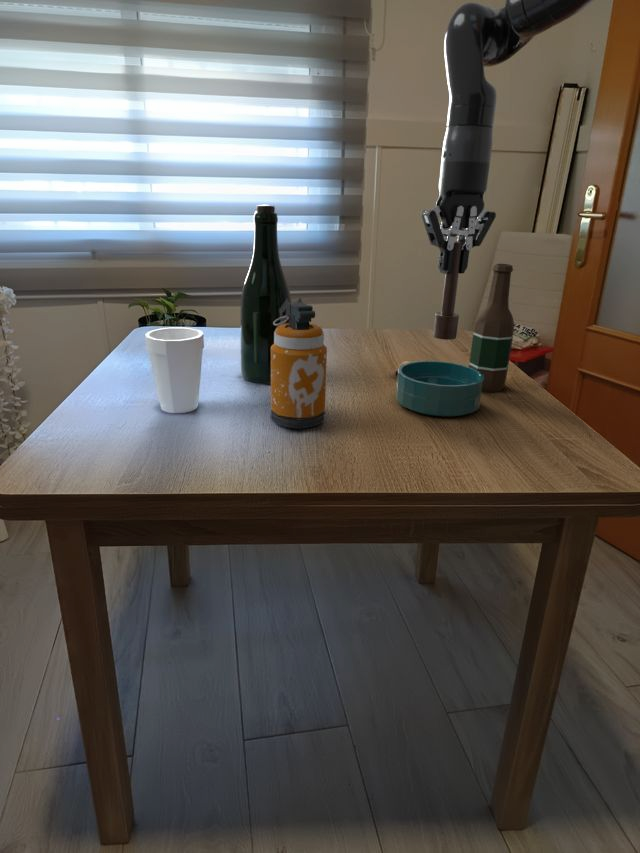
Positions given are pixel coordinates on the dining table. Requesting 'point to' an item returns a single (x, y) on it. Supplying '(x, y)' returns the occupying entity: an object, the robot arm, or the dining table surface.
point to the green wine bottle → (262, 298)
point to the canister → (298, 368)
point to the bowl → (439, 388)
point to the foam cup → (176, 366)
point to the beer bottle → (494, 333)
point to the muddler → (449, 300)
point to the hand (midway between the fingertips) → (452, 272)
